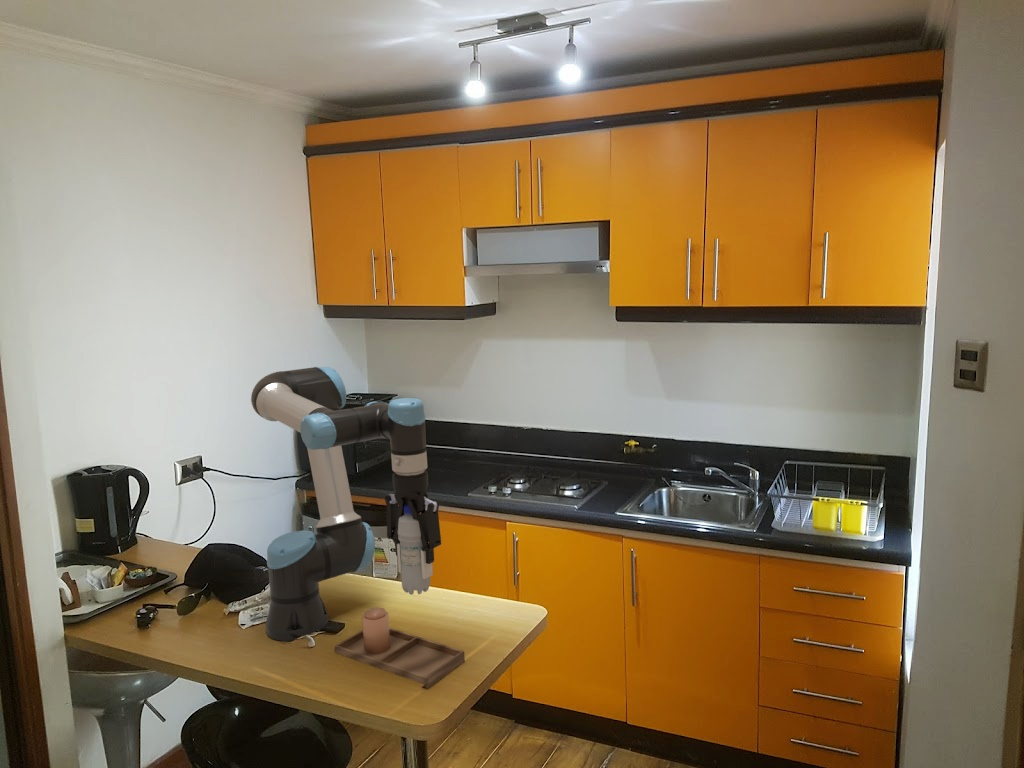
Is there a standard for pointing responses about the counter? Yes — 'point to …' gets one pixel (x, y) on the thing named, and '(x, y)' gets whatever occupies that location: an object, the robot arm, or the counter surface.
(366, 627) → the jar
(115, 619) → the counter surface
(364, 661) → the caddy
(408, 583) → the bottle
